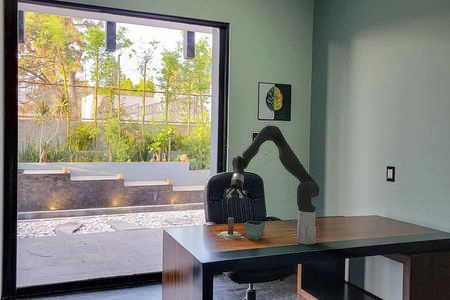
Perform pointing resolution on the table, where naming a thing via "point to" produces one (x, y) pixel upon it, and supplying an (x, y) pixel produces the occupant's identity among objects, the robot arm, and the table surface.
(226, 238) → the mat
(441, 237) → the table surface
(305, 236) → the robot arm
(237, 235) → the lid
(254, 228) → the flower pot
